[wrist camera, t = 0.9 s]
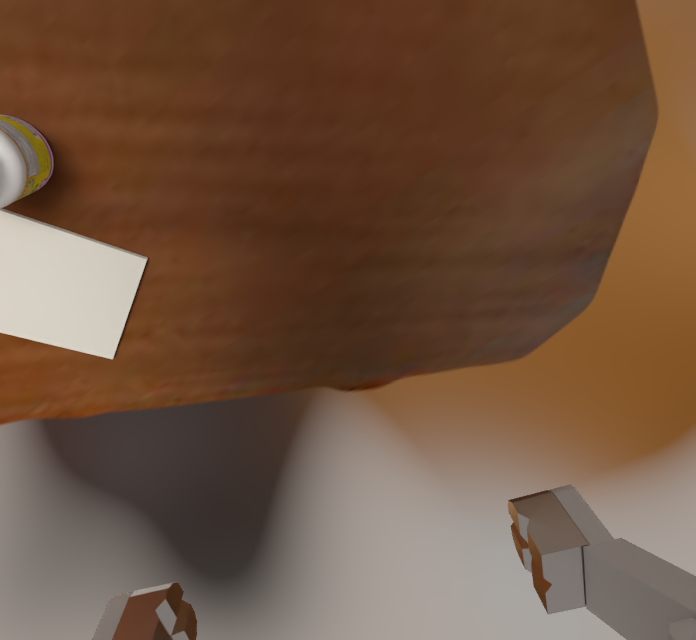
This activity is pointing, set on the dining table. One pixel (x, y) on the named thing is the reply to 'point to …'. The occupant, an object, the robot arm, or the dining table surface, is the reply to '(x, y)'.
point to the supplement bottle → (22, 160)
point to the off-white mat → (64, 286)
